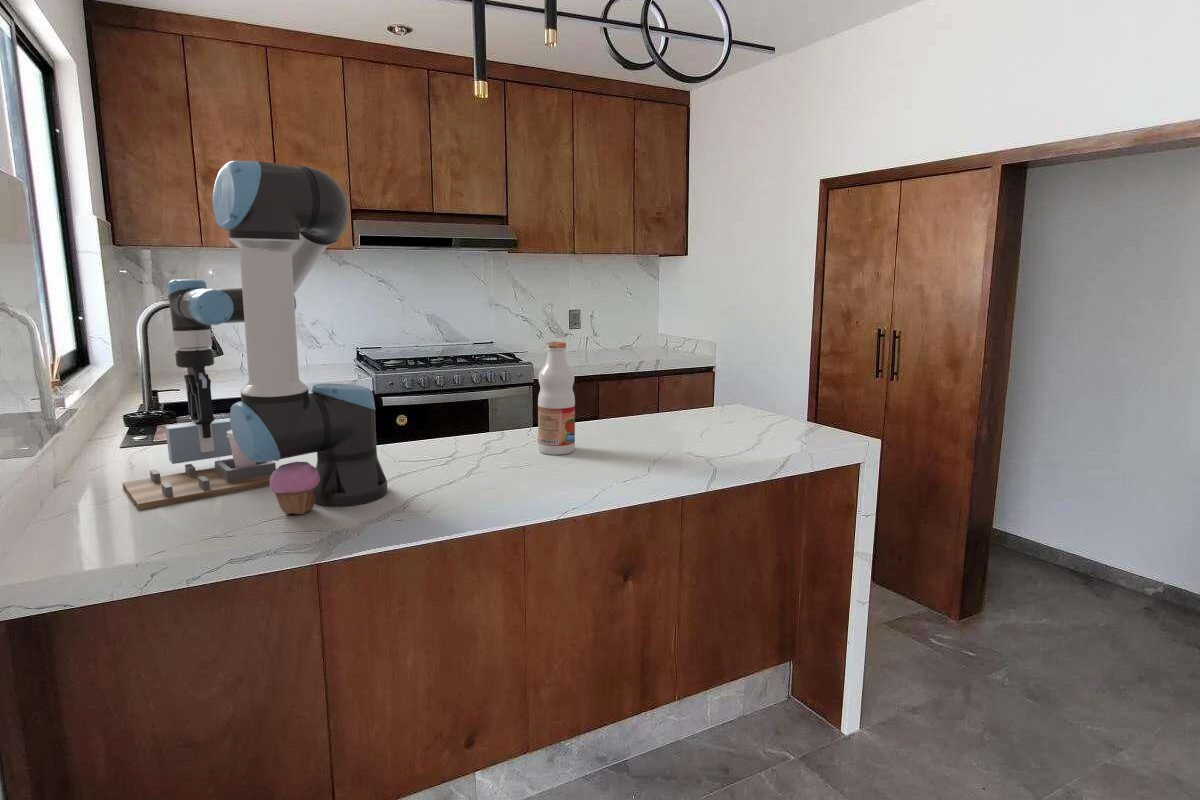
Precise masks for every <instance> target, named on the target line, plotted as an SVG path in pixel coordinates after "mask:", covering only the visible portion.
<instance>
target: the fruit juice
mask: <svg viewBox="0 0 1200 800" xmlns="http://www.w3.org/2000/svg"><path fill="white" fill-rule="evenodd" d="M546 350H547V357H546V359H545V363H544V365H543V366H542V368H541V369H540V371H539V373H538V383H539V387H540V389H539V393H538V397H537V413H538V414H537V418H538V419H537V420H538V421H537V424H538V427H537V429H538V430H537V431H538V432H537V435H538V443H537V445H538V451H539V452H540V453H542V454H545V455H551V456H560V455H561V456H562V455H567V454H571V453H573V452H574V451H575V448H576V399H575V398H576V397H575V393H574V390H573V386H574V383H575V373H574V372H573V370H572V368H571V367H570V365H569V364H568V362H567V357H566V351H565V350H567V343H566V342H564V341H548V342H547V343H546Z"/></svg>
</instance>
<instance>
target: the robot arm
mask: <svg viewBox="0 0 1200 800" xmlns="http://www.w3.org/2000/svg"><path fill="white" fill-rule="evenodd" d="M212 211H213V212H212V213H213V215H214V219H215V221H216V224H217V225H218V226H219V227H220V228H222V229H223V230H226V231H228V240H229V241H230V242H231V243H232V244H233V245H234V246H235V247H236V248H237V250H238V251H239V252H238V253H239V266H240V280H241V287H235V288H232V287H231V288H228V287H227V288H213V287H212V288H211V287H210V288H208V287H207V282H206V281H204V279H172V280H170V281H169V282H168V284H167V289H168V290H167V291H168V294H167V298H168V302H169V309H170V310H169V311H170V318H171V319H170V320H171V327H172V330H171V331H172V338H173V347H174V348H175V349H177V350H176V351H175V352H174V356H175V364H176V366H177V367H178V368H180V369H181V368H182V369H183V368H185V369H187V373H185V374H184V375H183V377H184V381H185V388H186V389H185V390H186V395H187V396H186V398H187V405H188V407H187V408H188V415H189V417H190V419H191V420H192V421H191V423H193V422H195V424H196V425H198V433H199V442H200V451H201V453H203V452H209V451H214V441H213V432H212V421H214V420H215V417H214V410H213V408H214V407H213V400H212V392H211V391H212V389H211V386H212V385H211V382H212V380H211V379H210V377H209V373H207V372H206V369H205V368H206V367H210V366H213V365H214V364H215V357H214V356H215V355H214V350H213V349H212V348H210V347H212V346H213V342H212V341H213V339H212V338H214V337H215V334H214V333H213V332H212V331H211V326H218V325H221V324H222V325H223V324H232V323H233V324H234V323H235V324H236V323H244V333H245V345H246V346H245V348H246V358H247V359H246V360H247V371H248V373H247V375H248V382H247V383H246V384H245V385H244V387H242V389H240V399H241V401H237V402H235V403H233V404H232V405H231V407H230V412H229V418H230V424H231V428H232V432H233V435H234V438H235V440H236V442H237V445H238V446H239V448H240V450H241V451H242V453H243V454H244V455H245V456H246V457H247V458H248V459H249V460H251V461H253V462H266V461H273V462H278V461H280V460H282V459H283V460H284V459H288V458H289V459H290V458H294V457H299V456H304V455H309V454H315V453H316V457H317V458H316V461H317V462H316V466H315V468H316V470H317V471H318V473H319V475H320V482H319V484H318V485H317V486H316V487H315V489H314V504H319V505H322V506H332V507H344V506H345V507H347V506H354V505H355V506H356V505H361V504H368V503H370V502H374V501H377V500H379V499H382V498H383V497H385V496H386V495H387V493H388V491H389V490H388V481H387V478H386V475H385V473H384V470H383V468H382V466H381V462H380V460H379V458H378V449H377V431H376V430H377V429H376V428H377V427H376V413H375V412H376V409H377V408H376V406H375V399H374V393H373V391H372V390H371V389H370V388H368V387H366V386H361V385H357V384H348V383H347V384H346V383H333V382H332V383H330V382H329V383H315V384H313V386H312V388H311V392H312V393H311V392H310V393H309V386H308V385H306V384H305V383H304V382H303V381H301V379H300V378H299V377H300V374H299V371H300V370H299V360H298V359H299V358H298V357H299V356H298V355H299V354H298V343H297V342H298V339H297V324H296V323H297V322H296V309H297V299H296V296H295V294H296V292H297V291H298V289H299V288H300V286H301V285H302V284H303V282H304V281H305V279H306V278H307V276H308V275H309V273H311V271H312V269H314V267H315V264H316V263H317V262H318V260H319V259H320V257H321V256H322V254H324V251H326V249H327V247H329V246H332V245H334V244H337V242H338V241H339V239H340V238H341V237H342V235H343V234H344V232H345V230H346V228H347V225H348V221H349V213H350V211H349V202H348V200H347V196H346V194H345V192H344V191H343V189H342V187H341V186H340V185H339V183H338V182H337V181H336V180H335V179H334V178H333V177H332V176H330V175H329V174H328V173H326V172H324V171H322V170H320V169H318V168H314V167H309V166H299V165H298V166H297V165H290V164H281V163H273V162H266V161H264V162H263V161H259V160H258V161H257V160H231V161H227V162H226V163H225V164H224V165H223V166H222V167H221V168H220V169H219V171H218V173H217V176H216V179H215V182H214V187H213V192H212Z"/></svg>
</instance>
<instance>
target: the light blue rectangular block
mask: <svg viewBox="0 0 1200 800" xmlns="http://www.w3.org/2000/svg"><path fill="white" fill-rule="evenodd" d="M164 428H165V435H166V444H167V452H168V453H167V454H168V460H169V462H170V463H171V464H172V465H175V464H181V463H189V462H195V461H196V462H197V461H202V460H208V459H215V458H221V457H222V458H224V457H230V456H233V455H232V450H231V446H230V442H229V438H228V437H227V431H229V430H232V428H231V424H230V417H227V418H220V419H214V421H212V432H213V441H214V451H209V452H203V453H201V451H200V442H199V433H198V425H196V424H195V422H193V423H192V422H185V423H177V424H170V425H165V427H164Z"/></svg>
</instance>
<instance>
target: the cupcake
mask: <svg viewBox="0 0 1200 800" xmlns="http://www.w3.org/2000/svg"><path fill="white" fill-rule="evenodd" d="M319 482H320V475H319V473H318V471H317V470H316V466H315V467H314V466H313V465H312V464H311V463H310V462H308V461H294V462H288V463H285V464H281V465H279V466H278V467H277V468H276V470H274V471H273V473H272V475H271V477H270V486H269V488H270V490H271V492H272V493H274V494H275V498H276V500H277V502H278V503H277V504H278V506H279V508H280V510H282V512H283V513H284V514H285V515H291V514H295V515H304V514H306V513H308V512H309V511H311V510H312V509H313V508H314V506H315V502H314V489H315V487H316V486H317V485H318V484H319Z"/></svg>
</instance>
